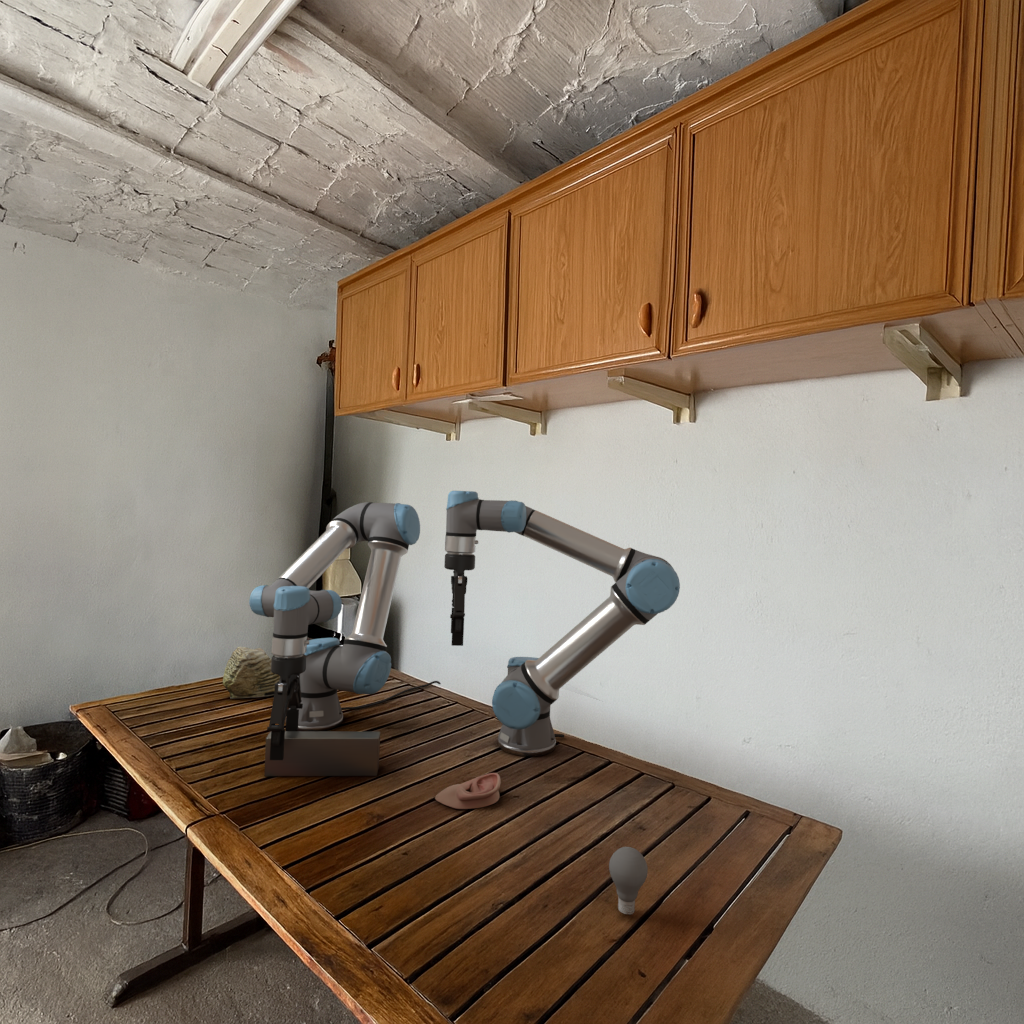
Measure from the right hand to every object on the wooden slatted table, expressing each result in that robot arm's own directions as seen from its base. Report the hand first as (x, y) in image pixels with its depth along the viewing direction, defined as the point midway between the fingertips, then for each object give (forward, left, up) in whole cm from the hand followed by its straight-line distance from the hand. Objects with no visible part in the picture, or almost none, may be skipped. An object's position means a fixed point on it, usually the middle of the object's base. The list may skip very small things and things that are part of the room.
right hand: (456, 639), depth 157 cm
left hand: (+39, -6, -24) cm, 46 cm away
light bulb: (-3, +66, -29) cm, 72 cm away
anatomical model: (+5, +21, -29) cm, 37 cm away
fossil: (+40, -67, -29) cm, 83 cm away
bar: (+31, -3, -29) cm, 43 cm away
